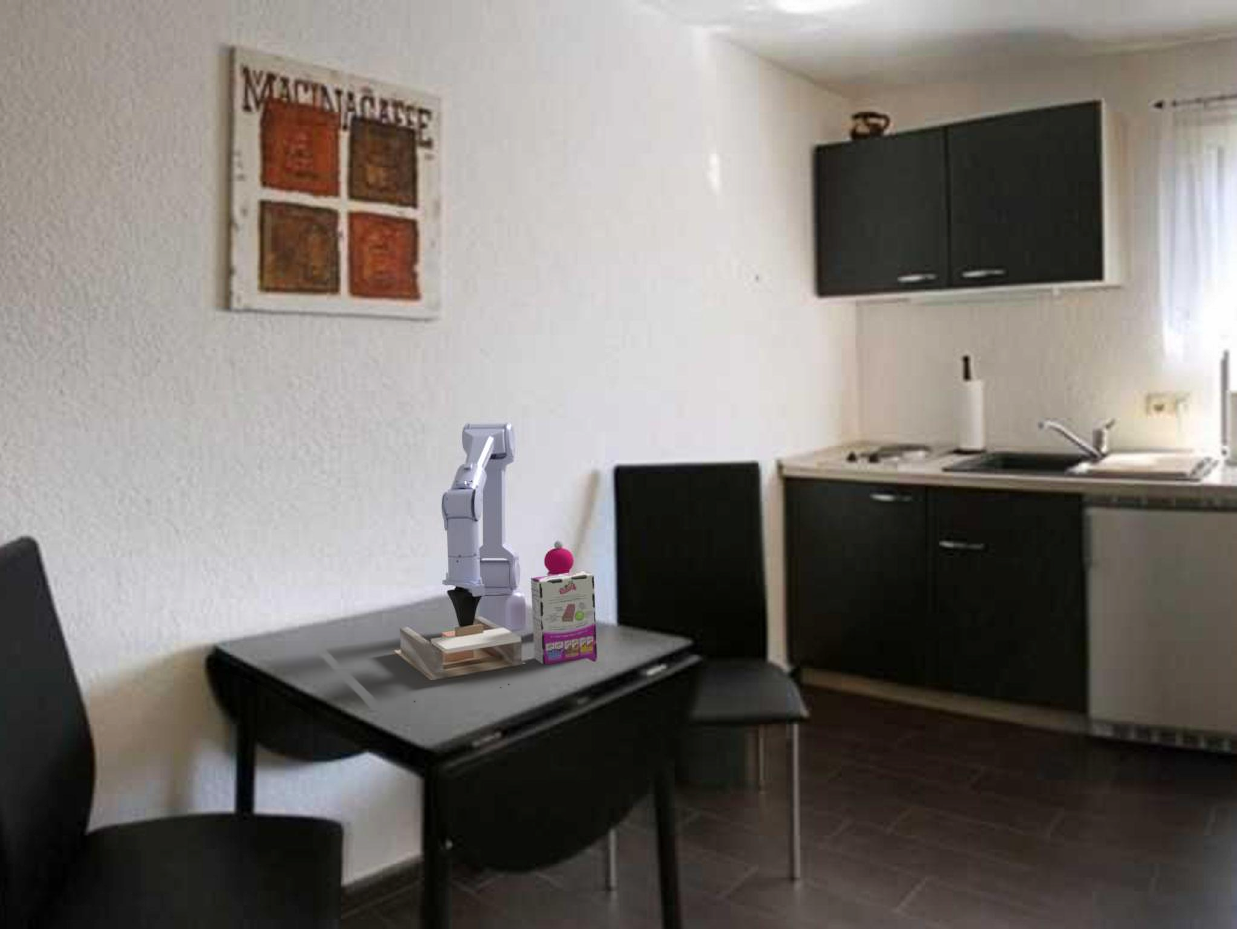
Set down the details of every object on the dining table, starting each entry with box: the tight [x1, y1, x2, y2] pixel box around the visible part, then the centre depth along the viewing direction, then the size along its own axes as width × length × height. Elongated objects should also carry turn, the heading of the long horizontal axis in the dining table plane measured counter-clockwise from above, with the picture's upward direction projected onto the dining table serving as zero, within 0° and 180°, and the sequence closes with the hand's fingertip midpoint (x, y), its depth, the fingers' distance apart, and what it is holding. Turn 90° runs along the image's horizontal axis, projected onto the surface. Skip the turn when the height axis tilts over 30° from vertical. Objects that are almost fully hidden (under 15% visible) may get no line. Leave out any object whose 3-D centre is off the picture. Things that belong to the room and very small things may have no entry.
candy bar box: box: [530, 570, 598, 665], centre depth 183 cm, size 11×5×16 cm, turn 117°
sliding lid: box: [430, 624, 522, 654], centre depth 176 cm, size 14×8×2 cm, turn 119°
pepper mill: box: [543, 540, 575, 576], centre depth 200 cm, size 7×7×20 cm
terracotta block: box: [441, 630, 474, 661], centre depth 185 cm, size 4×4×4 cm
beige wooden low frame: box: [394, 615, 526, 681], centre depth 185 cm, size 18×22×6 cm
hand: (466, 627), depth 180 cm, fingers closed
